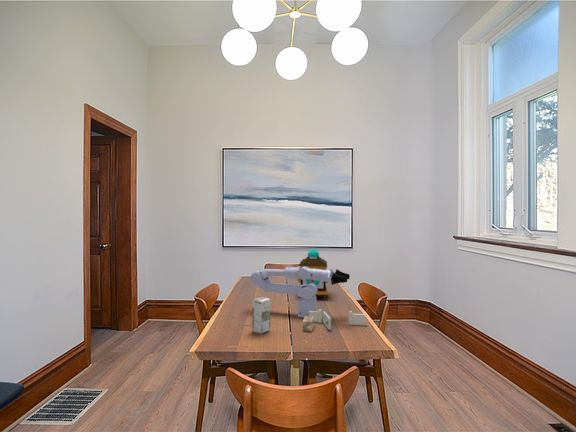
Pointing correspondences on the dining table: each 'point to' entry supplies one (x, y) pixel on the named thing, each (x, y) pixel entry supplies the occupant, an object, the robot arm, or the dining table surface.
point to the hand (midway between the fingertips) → (348, 278)
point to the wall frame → (353, 318)
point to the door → (326, 320)
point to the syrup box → (261, 315)
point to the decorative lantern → (316, 263)
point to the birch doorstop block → (308, 323)
